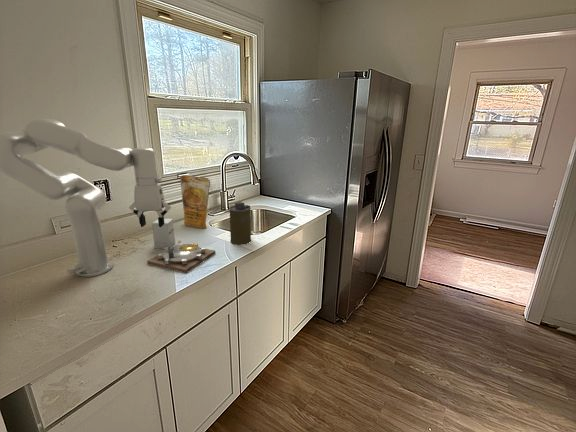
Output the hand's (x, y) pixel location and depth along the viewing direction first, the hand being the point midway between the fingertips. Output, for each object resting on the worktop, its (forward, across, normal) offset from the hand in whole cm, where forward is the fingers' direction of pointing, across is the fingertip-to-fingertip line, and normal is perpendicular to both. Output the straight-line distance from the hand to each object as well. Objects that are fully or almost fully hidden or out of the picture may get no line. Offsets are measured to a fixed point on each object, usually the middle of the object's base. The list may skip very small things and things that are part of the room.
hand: (152, 225), depth 121 cm
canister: (+18, -31, -28) cm, 45 cm away
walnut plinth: (+18, -8, -7) cm, 21 cm away
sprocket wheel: (+16, -8, -7) cm, 19 cm away
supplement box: (+18, +4, -21) cm, 28 cm away
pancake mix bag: (+18, -3, -50) cm, 53 cm away
